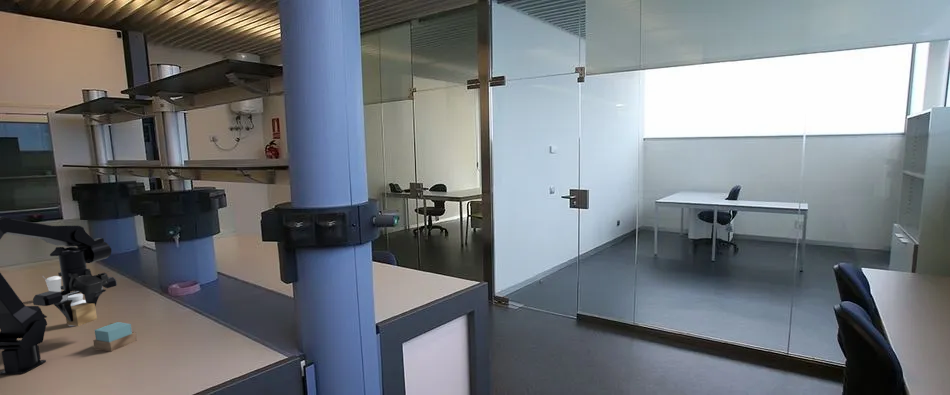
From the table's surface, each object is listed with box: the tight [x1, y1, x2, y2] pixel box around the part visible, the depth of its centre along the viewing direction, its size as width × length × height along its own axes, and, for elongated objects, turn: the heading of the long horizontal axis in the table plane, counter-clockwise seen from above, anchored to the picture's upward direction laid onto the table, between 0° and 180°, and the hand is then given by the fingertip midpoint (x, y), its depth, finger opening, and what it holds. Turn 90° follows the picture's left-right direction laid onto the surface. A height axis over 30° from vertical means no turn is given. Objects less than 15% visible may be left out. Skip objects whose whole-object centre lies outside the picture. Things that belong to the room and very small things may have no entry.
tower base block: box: [93, 331, 138, 352], centre depth 130 cm, size 7×7×3 cm
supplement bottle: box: [68, 293, 86, 327], centre depth 149 cm, size 5×5×10 cm
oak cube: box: [65, 303, 98, 327], centre depth 134 cm, size 5×5×5 cm
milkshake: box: [42, 275, 62, 292], centre depth 178 cm, size 5×5×10 cm
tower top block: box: [94, 321, 133, 342], centre depth 130 cm, size 6×6×3 cm
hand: (81, 318), depth 134 cm, fingers closed on oak cube, 5 cm apart
